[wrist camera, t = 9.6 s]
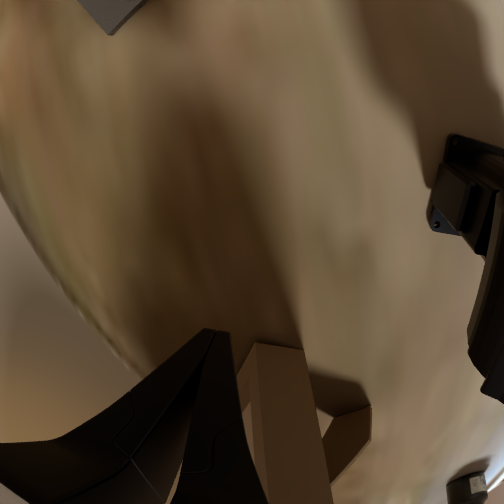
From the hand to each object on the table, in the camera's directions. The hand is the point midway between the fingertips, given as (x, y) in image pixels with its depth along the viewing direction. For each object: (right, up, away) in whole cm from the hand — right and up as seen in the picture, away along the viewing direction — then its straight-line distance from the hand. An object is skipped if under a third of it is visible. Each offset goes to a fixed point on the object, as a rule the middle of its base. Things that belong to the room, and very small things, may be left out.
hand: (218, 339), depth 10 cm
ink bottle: (+45, -44, +31) cm, 71 cm away
